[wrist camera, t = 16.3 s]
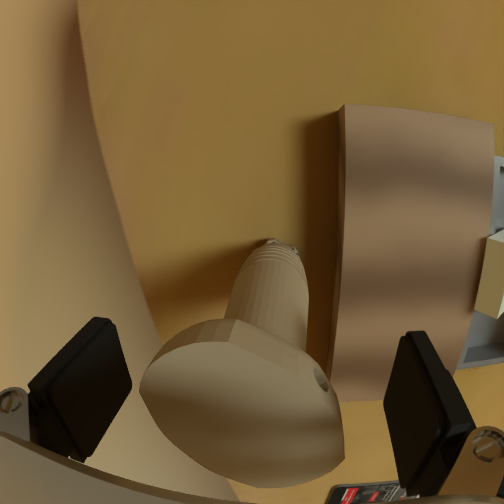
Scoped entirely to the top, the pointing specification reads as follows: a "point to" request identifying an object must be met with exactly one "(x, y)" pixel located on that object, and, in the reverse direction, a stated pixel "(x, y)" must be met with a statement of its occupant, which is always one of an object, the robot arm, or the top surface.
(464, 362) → the box
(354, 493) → the smartphone
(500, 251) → the tile
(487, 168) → the board
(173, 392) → the handle
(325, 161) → the top surface
